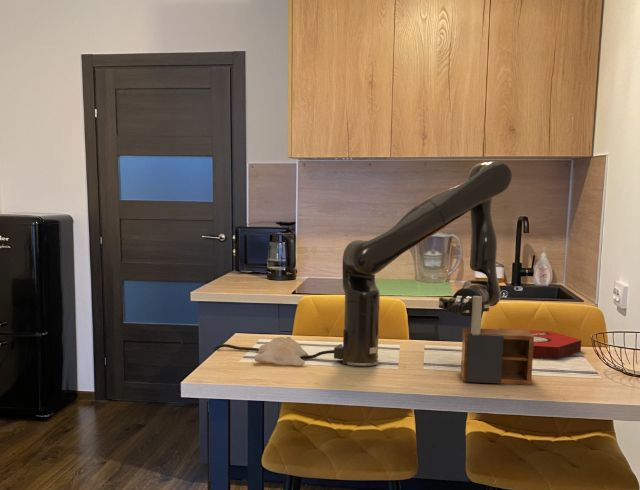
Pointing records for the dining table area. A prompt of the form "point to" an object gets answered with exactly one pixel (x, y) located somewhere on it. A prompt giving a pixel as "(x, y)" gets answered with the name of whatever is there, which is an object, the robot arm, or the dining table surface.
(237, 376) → the dining table surface
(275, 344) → the arrowhead
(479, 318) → the sliding door
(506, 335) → the cupboard
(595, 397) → the dining table surface
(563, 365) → the dining table surface
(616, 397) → the dining table surface
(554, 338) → the plaque
